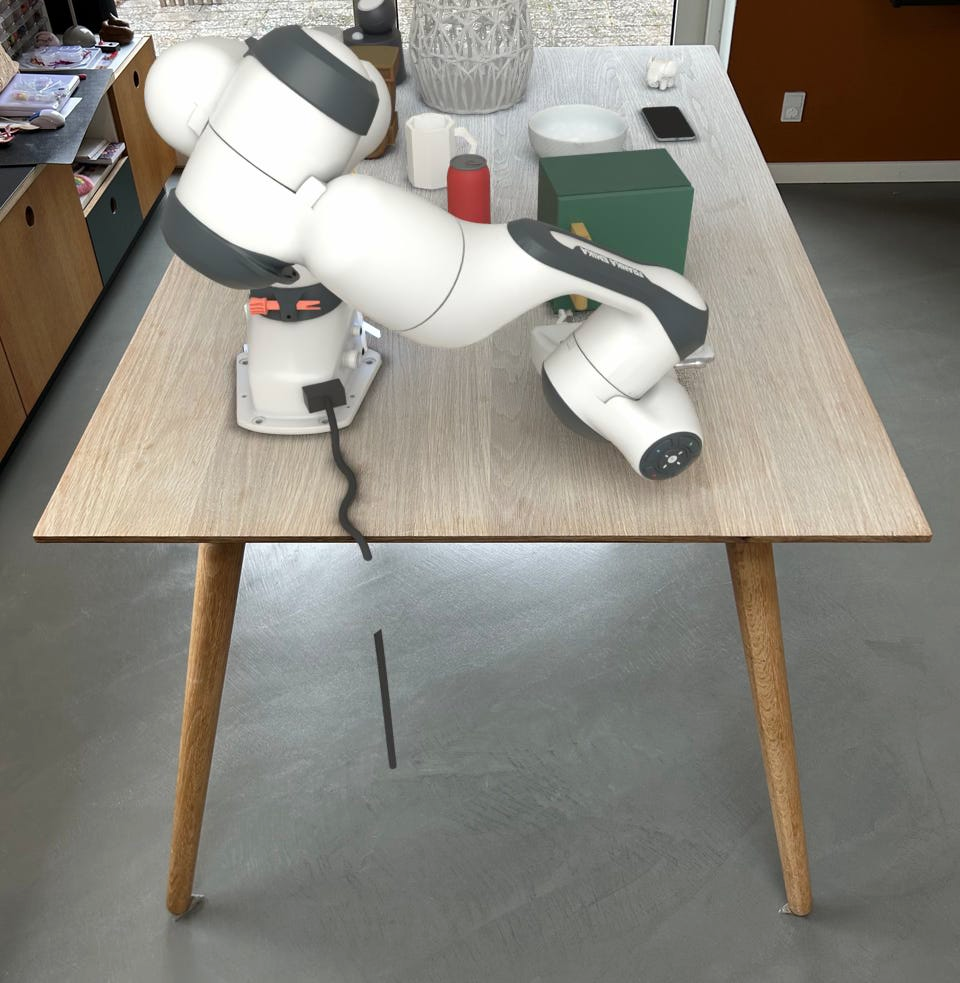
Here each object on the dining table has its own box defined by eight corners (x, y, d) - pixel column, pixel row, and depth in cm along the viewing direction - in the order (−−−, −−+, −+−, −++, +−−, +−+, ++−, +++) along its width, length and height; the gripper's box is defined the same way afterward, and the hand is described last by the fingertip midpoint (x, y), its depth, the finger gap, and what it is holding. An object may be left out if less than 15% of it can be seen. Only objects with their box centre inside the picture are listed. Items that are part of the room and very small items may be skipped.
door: (691, 321, 143) (707, 206, 132) (562, 333, 141) (568, 218, 130) (677, 298, 147) (692, 185, 137) (553, 309, 145) (557, 196, 135)
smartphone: (657, 138, 189) (640, 107, 201) (656, 142, 190) (640, 110, 201) (696, 136, 190) (677, 105, 201) (696, 140, 190) (677, 109, 201)
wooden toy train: (405, 136, 193) (400, 43, 182) (399, 162, 185) (393, 65, 174) (298, 136, 194) (286, 43, 183) (287, 161, 185) (274, 65, 175)
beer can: (486, 246, 160) (485, 171, 152) (444, 243, 161) (441, 168, 153) (494, 227, 165) (494, 153, 157) (453, 224, 166) (451, 150, 158)
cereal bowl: (514, 173, 180) (515, 133, 176) (543, 137, 192) (544, 99, 188) (610, 187, 176) (613, 146, 171) (634, 149, 188) (637, 110, 183)
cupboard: (677, 298, 148) (691, 183, 137) (552, 309, 146) (557, 194, 135) (653, 257, 157) (665, 147, 146) (535, 268, 155) (538, 157, 144)
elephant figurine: (634, 88, 211) (637, 58, 207) (660, 78, 215) (663, 48, 211) (660, 97, 207) (663, 66, 203) (686, 86, 211) (689, 56, 207)
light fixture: (316, -2, 206) (370, -17, 214) (324, 80, 216) (376, 63, 224) (361, 11, 199) (415, -5, 207) (367, 96, 209) (419, 77, 217)
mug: (408, 190, 176) (405, 133, 169) (408, 169, 182) (405, 113, 176) (479, 188, 176) (478, 130, 170) (477, 167, 182) (476, 111, 176)
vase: (476, 66, 222) (473, -93, 202) (557, 96, 208) (563, -72, 188) (386, 95, 209) (375, -71, 190) (467, 129, 196) (463, -47, 176)
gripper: (723, 340, 117) (686, 280, 127) (544, 357, 115) (521, 295, 125) (716, 386, 121) (680, 324, 132) (543, 404, 119) (520, 339, 129)
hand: (601, 310), depth 128 cm, fingers open, 8 cm apart
